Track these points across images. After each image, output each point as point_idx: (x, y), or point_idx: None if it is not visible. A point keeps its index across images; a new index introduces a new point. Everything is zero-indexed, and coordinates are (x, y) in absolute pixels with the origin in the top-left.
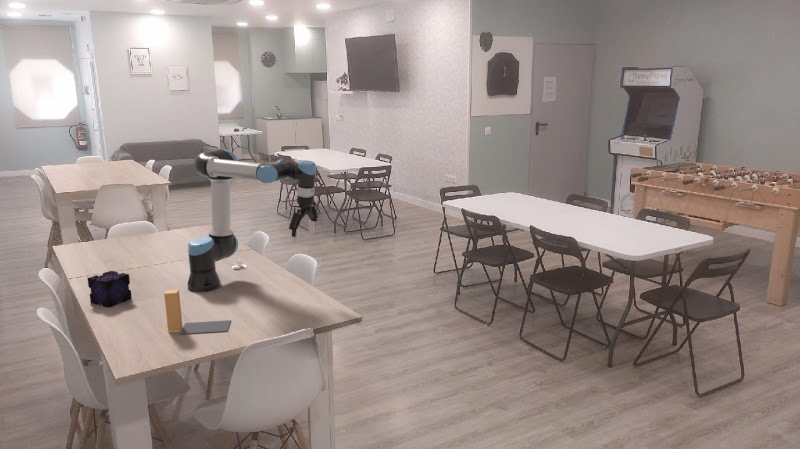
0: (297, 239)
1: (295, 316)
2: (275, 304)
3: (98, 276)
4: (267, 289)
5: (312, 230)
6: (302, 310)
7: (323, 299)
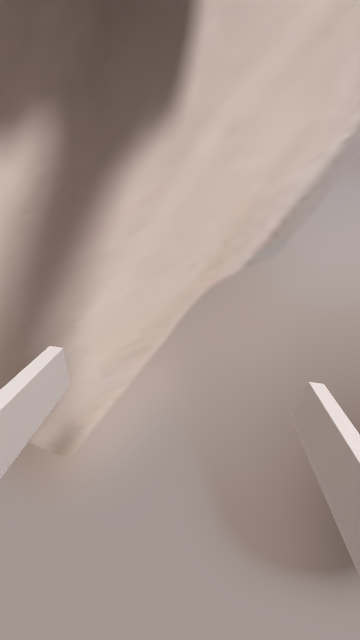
0: (49, 411)
1: (7, 359)
2: (45, 275)
3: None
4: (143, 176)
5: (309, 448)
6: None
7: (128, 369)
